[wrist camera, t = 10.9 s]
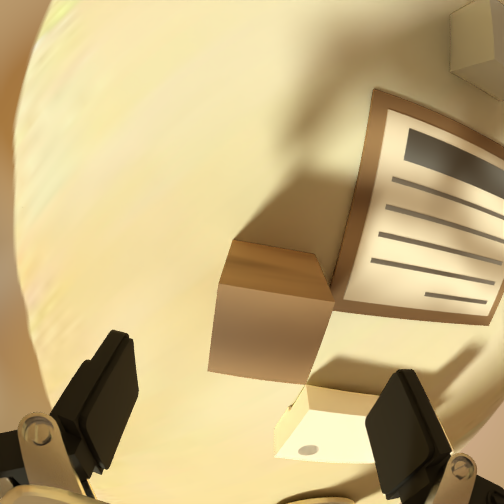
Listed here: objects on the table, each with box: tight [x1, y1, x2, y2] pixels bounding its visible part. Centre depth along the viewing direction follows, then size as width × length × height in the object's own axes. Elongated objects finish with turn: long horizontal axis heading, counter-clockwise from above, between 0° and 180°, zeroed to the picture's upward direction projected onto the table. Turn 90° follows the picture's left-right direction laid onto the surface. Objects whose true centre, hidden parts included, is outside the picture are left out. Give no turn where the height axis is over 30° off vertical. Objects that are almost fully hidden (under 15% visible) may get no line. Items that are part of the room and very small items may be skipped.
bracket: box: [274, 385, 454, 495], centre depth 20 cm, size 13×7×8 cm, turn 73°
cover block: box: [449, 0, 504, 101], centre depth 10 cm, size 5×5×5 cm
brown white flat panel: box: [330, 89, 504, 326], centre depth 17 cm, size 14×16×1 cm
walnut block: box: [208, 240, 335, 385], centre depth 16 cm, size 5×5×6 cm
